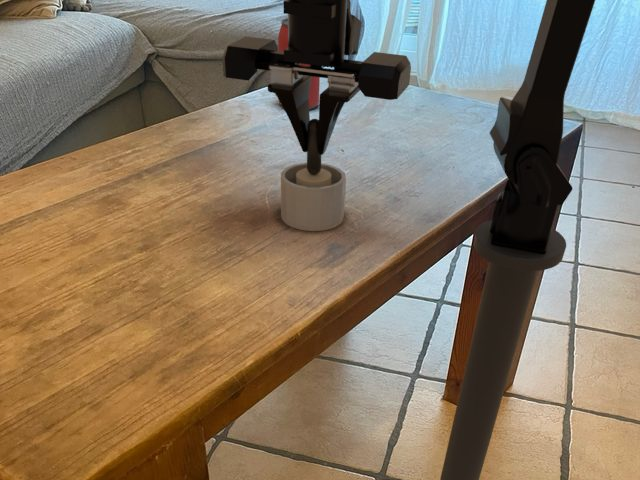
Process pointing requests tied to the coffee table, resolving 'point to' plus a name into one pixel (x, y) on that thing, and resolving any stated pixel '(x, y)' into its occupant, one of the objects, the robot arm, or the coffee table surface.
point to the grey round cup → (312, 200)
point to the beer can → (314, 80)
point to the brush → (313, 161)
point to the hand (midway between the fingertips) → (314, 152)
